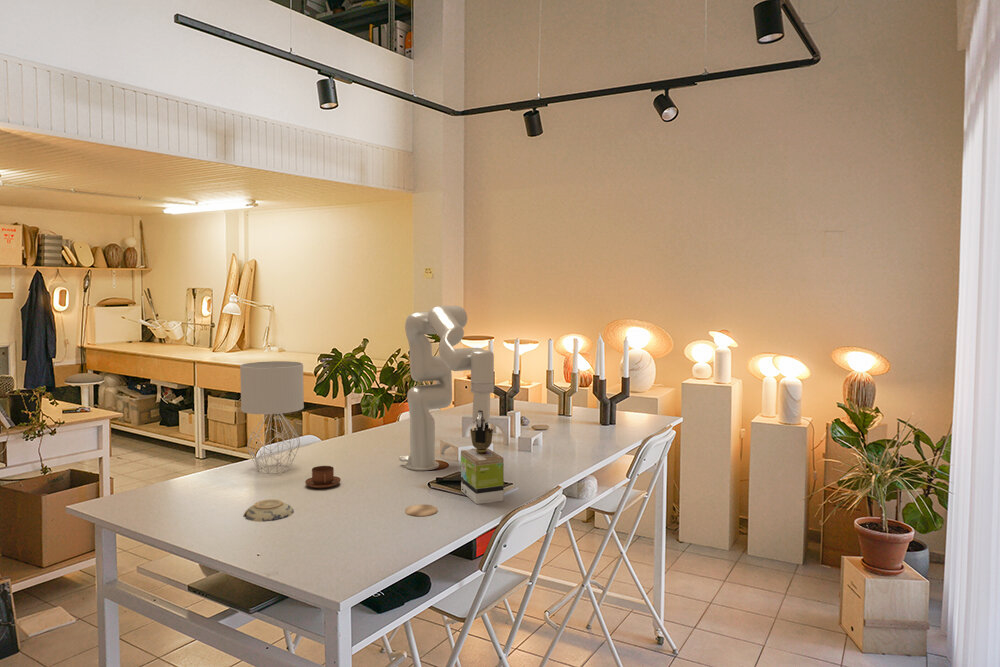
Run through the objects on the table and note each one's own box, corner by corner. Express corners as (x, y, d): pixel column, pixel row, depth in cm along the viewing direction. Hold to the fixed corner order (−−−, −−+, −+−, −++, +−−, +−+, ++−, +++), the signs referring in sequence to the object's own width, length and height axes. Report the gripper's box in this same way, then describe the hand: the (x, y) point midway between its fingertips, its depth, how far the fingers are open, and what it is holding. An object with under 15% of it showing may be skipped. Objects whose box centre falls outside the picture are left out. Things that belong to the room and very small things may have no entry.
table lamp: (237, 479, 253) (235, 368, 250) (247, 463, 275) (245, 361, 272) (302, 476, 257) (300, 367, 254) (306, 460, 279) (305, 360, 276)
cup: (480, 449, 238) (480, 425, 237) (497, 452, 233) (497, 428, 233) (465, 453, 232) (465, 429, 232) (482, 456, 228) (482, 432, 227)
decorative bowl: (304, 514, 217) (276, 503, 226) (304, 502, 216) (276, 492, 226) (260, 527, 205) (233, 515, 215) (260, 515, 205) (233, 504, 214)
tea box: (459, 492, 239) (459, 449, 238) (487, 488, 243) (487, 446, 242) (475, 505, 225) (475, 459, 224) (504, 501, 229) (504, 456, 228)
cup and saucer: (346, 486, 245) (346, 469, 245) (315, 493, 237) (314, 475, 237) (330, 479, 254) (330, 462, 254) (299, 485, 246) (299, 467, 246)
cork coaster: (401, 515, 214) (401, 514, 214) (408, 505, 224) (408, 503, 224) (434, 516, 213) (434, 515, 213) (440, 506, 223) (440, 505, 223)
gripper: (474, 383, 240) (474, 433, 242) (467, 391, 223) (467, 444, 224) (496, 384, 240) (495, 433, 241) (490, 392, 222) (490, 445, 224)
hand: (482, 439), depth 233 cm, fingers open, 9 cm apart
